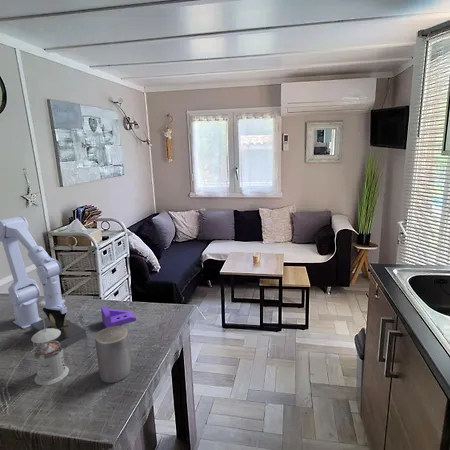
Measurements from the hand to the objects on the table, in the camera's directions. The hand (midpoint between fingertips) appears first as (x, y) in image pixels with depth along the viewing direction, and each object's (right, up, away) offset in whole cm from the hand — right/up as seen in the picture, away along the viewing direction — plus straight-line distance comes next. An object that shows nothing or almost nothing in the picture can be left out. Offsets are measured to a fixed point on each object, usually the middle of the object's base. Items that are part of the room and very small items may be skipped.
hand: (57, 325), depth 129 cm
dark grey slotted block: (0, -4, +1) cm, 4 cm away
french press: (+9, -9, -22) cm, 26 cm away
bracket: (+21, -2, +10) cm, 23 cm away
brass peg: (0, -2, +1) cm, 2 cm away
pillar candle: (+30, -8, -22) cm, 38 cm away
